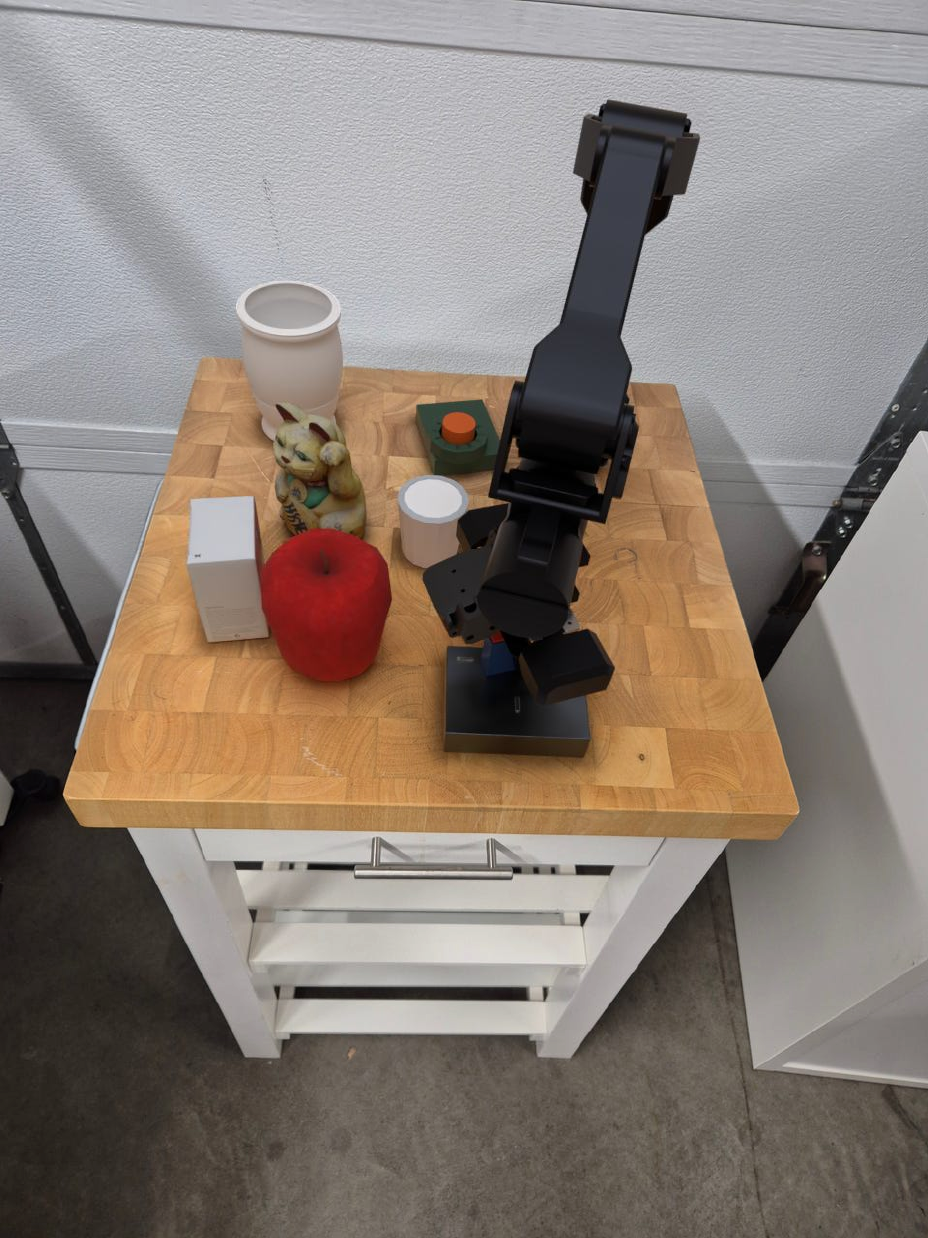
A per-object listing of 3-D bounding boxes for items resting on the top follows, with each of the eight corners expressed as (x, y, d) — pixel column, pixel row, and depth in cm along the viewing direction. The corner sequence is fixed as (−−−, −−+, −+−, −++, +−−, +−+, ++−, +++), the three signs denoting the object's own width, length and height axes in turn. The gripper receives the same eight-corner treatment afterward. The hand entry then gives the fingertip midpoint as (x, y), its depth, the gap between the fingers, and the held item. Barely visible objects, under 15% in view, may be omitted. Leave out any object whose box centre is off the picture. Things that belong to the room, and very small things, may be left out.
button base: (413, 420, 96) (414, 392, 93) (480, 414, 98) (483, 386, 95) (433, 482, 90) (435, 454, 86) (505, 475, 91) (509, 447, 88)
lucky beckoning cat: (264, 530, 83) (245, 407, 71) (316, 487, 88) (306, 365, 76) (339, 572, 80) (332, 451, 69) (389, 525, 85) (390, 405, 73)
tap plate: (571, 640, 77) (578, 619, 75) (584, 757, 69) (591, 738, 67) (445, 634, 76) (447, 612, 74) (443, 751, 68) (445, 732, 66)
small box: (269, 639, 74) (256, 560, 66) (206, 644, 73) (184, 564, 65) (268, 574, 79) (255, 493, 71) (208, 578, 78) (189, 496, 70)
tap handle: (543, 647, 72) (551, 613, 69) (550, 661, 71) (559, 627, 68) (479, 662, 71) (485, 628, 67) (486, 676, 70) (492, 643, 66)
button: (438, 426, 90) (439, 413, 89) (469, 423, 91) (471, 410, 90) (445, 447, 88) (446, 434, 87) (477, 444, 89) (479, 431, 87)
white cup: (455, 579, 81) (461, 529, 75) (388, 565, 81) (389, 514, 76) (469, 532, 85) (475, 481, 80) (405, 519, 86) (407, 467, 80)
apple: (272, 708, 70) (254, 606, 59) (271, 616, 76) (254, 509, 66) (395, 697, 71) (398, 596, 61) (384, 608, 78) (385, 503, 67)
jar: (363, 421, 95) (361, 302, 84) (306, 468, 89) (296, 346, 78) (292, 387, 98) (281, 268, 87) (233, 429, 92) (212, 307, 81)
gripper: (399, 465, 62) (396, 598, 74) (484, 655, 51) (464, 774, 63) (534, 443, 65) (509, 574, 77) (640, 618, 54) (593, 739, 66)
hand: (515, 658), depth 71 cm, fingers closed on tap handle, 2 cm apart
